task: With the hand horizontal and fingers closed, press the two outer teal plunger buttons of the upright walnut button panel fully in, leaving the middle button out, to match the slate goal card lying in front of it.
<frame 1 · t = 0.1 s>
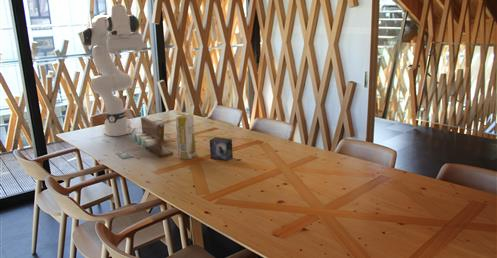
hand: (128, 57, 234), 52 cm above the table, tool tilted 20°, fingers open, 8 cm apart
juice carton: (187, 157, 227), on the table
button panel: (153, 152, 237), on the table
button 2: (149, 142, 227), point 8 cm above the table, slide at 0.0 cm
goal card: (124, 155, 233), on the table
small box: (221, 158, 223), on the table
disposable coffee cup: (158, 141, 258), on the table
button 1: (140, 137, 238), point 8 cm above the table, slide at 0.0 cm
button middle: (145, 139, 232), point 8 cm above the table, slide at 0.0 cm
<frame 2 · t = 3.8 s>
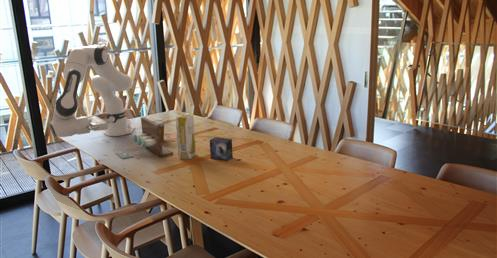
hand: (111, 121, 227), 20 cm above the table, tool horizontal, fingers closed
nothing on the table moved.
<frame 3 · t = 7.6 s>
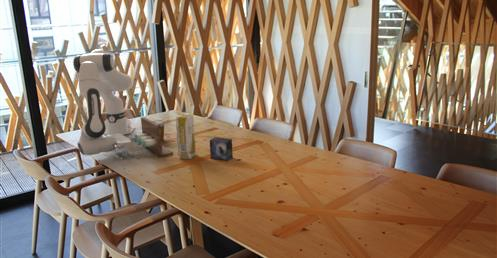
hand: (134, 138, 236), 8 cm above the table, tool horizontal, fingers closed, pressing on button 1
button 1: (141, 136, 238), point 8 cm above the table, slide at 0.6 cm, touching gripper
everything else where it was.
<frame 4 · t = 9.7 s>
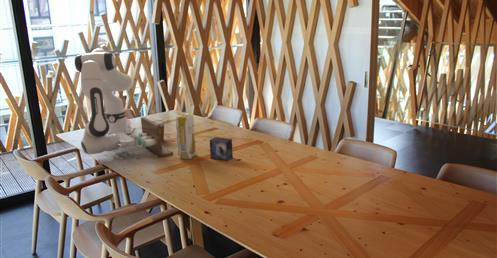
hand: (137, 137, 237), 8 cm above the table, tool horizontal, fingers closed
button 1: (146, 135, 240), point 8 cm above the table, slide at 3.6 cm
everything else where it was.
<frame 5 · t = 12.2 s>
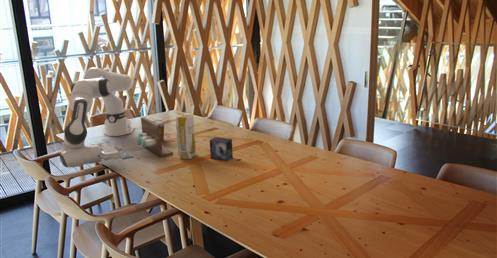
hand: (122, 148, 219), 8 cm above the table, tool horizontal, fingers closed
nothing on the table moved.
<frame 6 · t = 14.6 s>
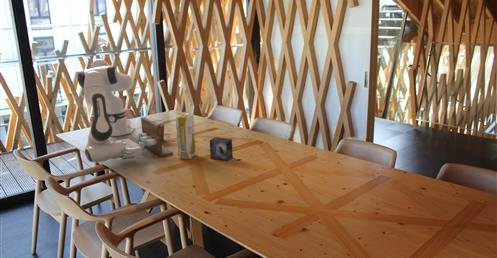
hand: (144, 144, 225), 8 cm above the table, tool horizontal, fingers closed, pressing on button 2
button 2: (151, 142, 227), point 8 cm above the table, slide at 0.8 cm, touching gripper
everything else where it was.
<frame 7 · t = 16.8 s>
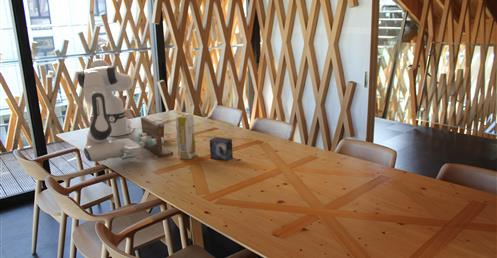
hand: (143, 143, 225), 8 cm above the table, tool horizontal, fingers closed
button 2: (156, 141, 229), point 8 cm above the table, slide at 3.6 cm
everything else where it was.
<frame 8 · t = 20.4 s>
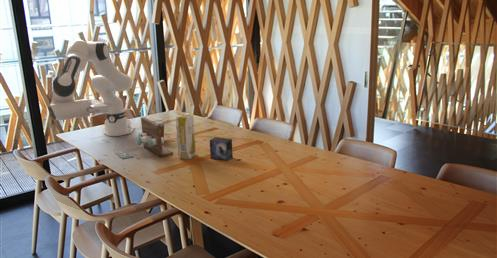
hand: (111, 104, 220), 30 cm above the table, tool horizontal, fingers closed
nothing on the table moved.
at the end: button 1 slide at 3.6 cm; button 2 slide at 3.6 cm; button middle slide at 0.0 cm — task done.
